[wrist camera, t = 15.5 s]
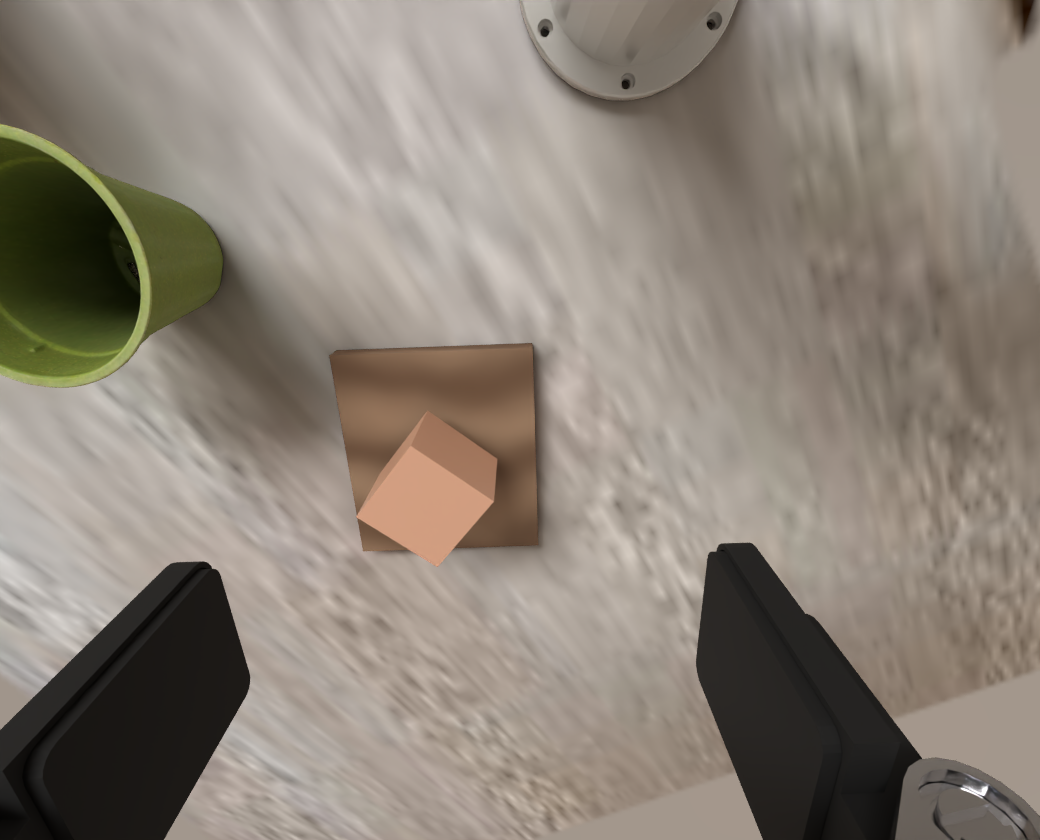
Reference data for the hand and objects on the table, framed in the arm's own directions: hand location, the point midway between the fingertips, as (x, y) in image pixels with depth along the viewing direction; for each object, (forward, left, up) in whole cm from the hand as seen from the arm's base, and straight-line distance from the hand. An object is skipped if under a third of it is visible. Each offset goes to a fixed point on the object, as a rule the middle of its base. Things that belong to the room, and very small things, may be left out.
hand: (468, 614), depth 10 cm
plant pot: (-6, -22, -28) cm, 36 cm away
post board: (+9, -5, -28) cm, 30 cm away
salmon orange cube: (+9, -5, -25) cm, 27 cm away
